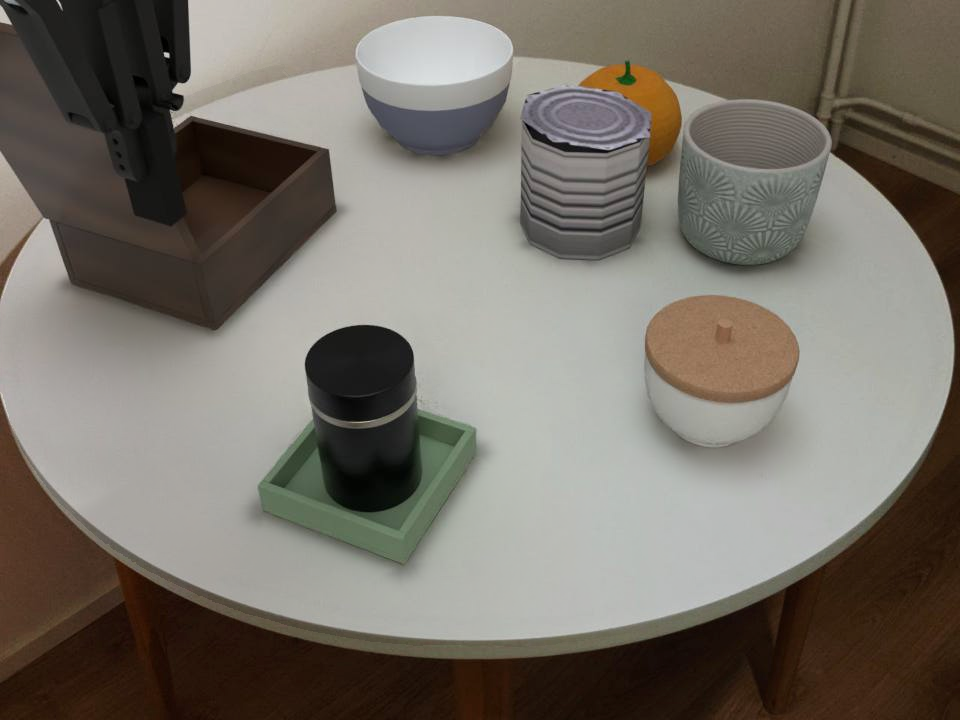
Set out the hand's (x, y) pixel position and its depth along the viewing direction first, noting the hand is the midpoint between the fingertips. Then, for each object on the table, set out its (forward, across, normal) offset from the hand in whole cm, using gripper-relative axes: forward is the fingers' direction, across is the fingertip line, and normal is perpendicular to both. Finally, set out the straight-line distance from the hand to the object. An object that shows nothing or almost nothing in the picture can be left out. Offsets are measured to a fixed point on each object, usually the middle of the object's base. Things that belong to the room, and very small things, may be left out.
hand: (160, 214), depth 62 cm
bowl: (+22, +49, +9) cm, 55 cm away
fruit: (+22, +54, -10) cm, 59 cm away
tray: (+22, +4, -10) cm, 24 cm away
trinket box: (+22, +20, -30) cm, 42 cm away
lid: (+5, +10, +18) cm, 21 cm away
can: (+22, +40, -11) cm, 47 cm away
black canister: (+21, +4, -10) cm, 24 cm away
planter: (+22, +44, -25) cm, 55 cm away
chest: (+22, +22, +18) cm, 36 cm away
